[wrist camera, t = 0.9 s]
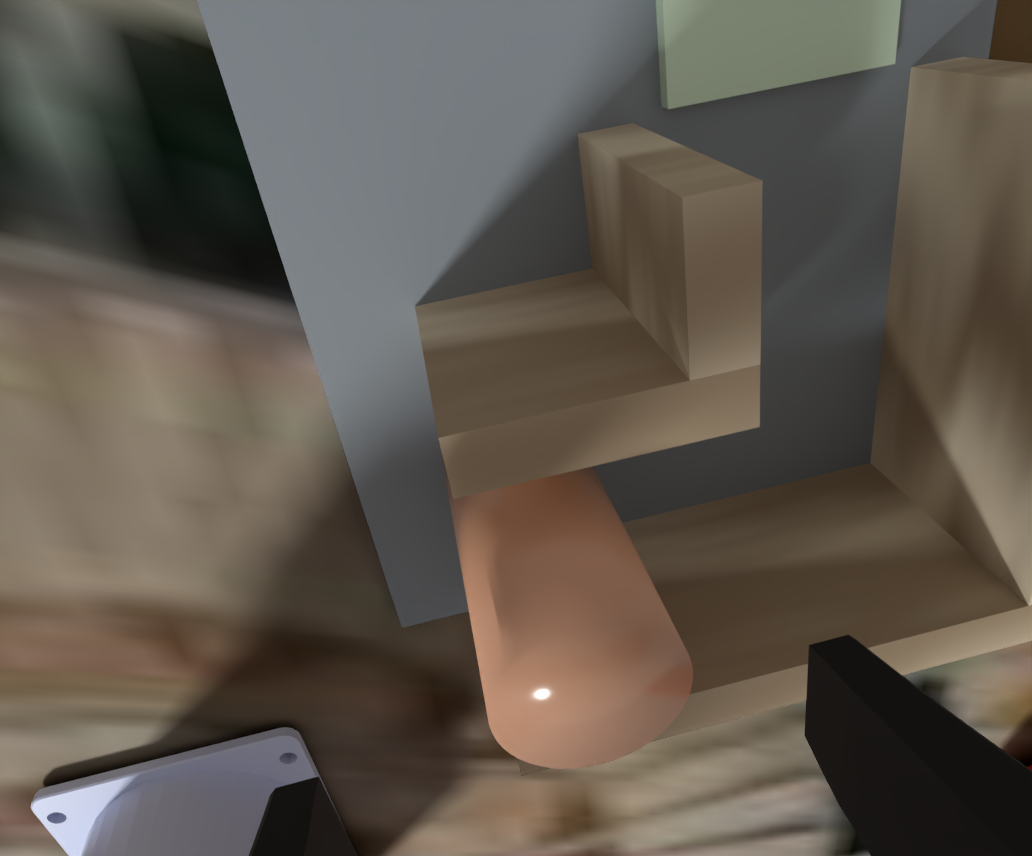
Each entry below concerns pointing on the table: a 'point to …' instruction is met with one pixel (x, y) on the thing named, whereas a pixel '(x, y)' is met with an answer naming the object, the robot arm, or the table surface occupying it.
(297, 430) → the table surface
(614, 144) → the tan piece
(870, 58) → the pad
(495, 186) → the board
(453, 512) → the peg
